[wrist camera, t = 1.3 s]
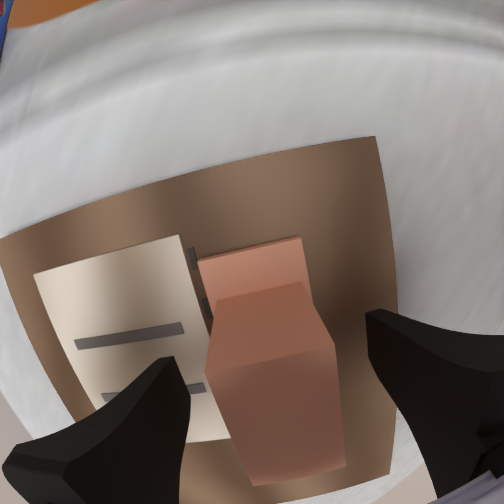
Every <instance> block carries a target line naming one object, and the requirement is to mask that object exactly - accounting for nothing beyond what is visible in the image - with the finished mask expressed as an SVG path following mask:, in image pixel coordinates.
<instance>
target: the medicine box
mask: <svg viewBox="0 0 504 504" xmlns="http://www.w3.org/2000/svg"><path fill="white" fill-rule="evenodd" d="M13 1H14V0H0V55H1V50H2V45H3V40H4V35H5V31H6V27H7V23H8V19H9V15H10V11H11V7H12V4H13Z"/></svg>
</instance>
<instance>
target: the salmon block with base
mask: <svg viewBox="0 0 504 504" xmlns="http://www.w3.org/2000/svg"><path fill="white" fill-rule="evenodd" d="M197 263H198V266H199V270H200V273H201V277H202V280H203V284H204V287H205V291H206V294H207V297H208V301H209V304H210V307H211V311H212V314H213V317H214V320H213V325H212V331H211V337H210V342H209V348H208V354H207V360H206V365H205V371H204V373H205V376H206V378H207V381H208V383H209V386H210V388H211V391H212V394H213V396H214V399H215V401H216V403H217V406H218V408H219V411H220V413H221V416H222V418H223V420H224V423H225V425H226V428H227V430H228V432H229V434H230V437H231V439H232V441H233V444H234V446H235V448H236V450H237V453H238V455H239V457H240V459H241V461H242V464H243V466H244V468H245V470H246V472H247V474H248V476H249V478H250V481H251V483H252V485H253V486H259V485H265V484H272V483H277V482H283V481H288V480H293V479H298V478H303V477H308V476H312V475H316V474H320V473H324V472H328V471H332V470H336V469H339V468H343V467H346V461H345V445H344V431H343V419H342V408H341V397H340V387H339V378H338V369H337V360H336V352H335V344H334V342H333V340H332V338H331V336H330V335H329V333H328V331H327V329H326V327H325V325H324V323H323V321H322V320H321V318H320V316H319V314H318V312H317V310H316V308H315V307H314V305H313V300H312V294H311V289H310V283H309V277H308V272H307V267H306V261H305V256H304V251H303V246H302V240H301V237H300V236H296V237H292V238H287V239H283V240H279V241H274V242H270V243H266V244H261V245H257V246H253V247H248V248H244V249H240V250H235V251H231V252H227V253H223V254H218V255H214V256H210V257H205V258H201V259H199V260H198V262H197Z"/></svg>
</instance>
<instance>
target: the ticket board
mask: <svg viewBox="0 0 504 504" xmlns="http://www.w3.org/2000/svg"><path fill="white" fill-rule="evenodd" d="M296 236H300V237H301V240H302V246H303V251H304V256H305V261H306V267H307V272H308V277H309V283H310V289H311V294H312V300H313V305H314V307H315V308H316V310H317V312H318V314H319V316H320V318H321V320H322V321H323V323H324V325H325V327H326V329H327V331H328V333H329V335H330V336H331V338H332V340H333V342H334V344H335V352H336V360H337V369H338V378H339V387H340V397H341V408H342V419H343V431H344V445H345V461H346V467H343V468H339V469H336V470H332V471H328V472H324V473H320V474H316V475H312V476H308V477H303V478H298V479H293V480H288V481H283V482H277V483H272V484H265V485H259V486H253V485H252V483H251V481H250V478H249V476H248V474H247V472H246V470H245V468H244V466H243V464H242V461H241V459H240V457H239V455H238V453H237V450H236V448H235V446H234V444H233V441H232V439H231V437H230V434H229V432H228V430H227V428H226V425H225V423H224V420H223V418H222V416H221V413H220V411H219V408H218V406H217V403H216V401H215V399H214V396H213V394H212V391H211V388H210V386H209V383H208V381H207V378H206V376H205V373H204V371H205V365H206V360H207V354H208V348H209V342H210V337H211V331H212V325H213V320H214V317H213V314H212V311H211V307H210V304H209V301H208V297H207V294H206V291H205V287H204V284H203V280H202V277H201V273H200V270H199V266H198V263H197V262H198V260H199V259H201V258H205V257H210V256H214V255H218V254H223V253H227V252H231V251H235V250H240V249H244V248H248V247H253V246H257V245H261V244H266V243H270V242H274V241H279V240H283V239H287V238H292V237H296ZM0 265H1V268H2V271H3V274H4V277H5V280H6V283H7V286H8V288H9V291H10V294H11V297H12V299H13V302H14V304H15V307H16V309H17V312H18V314H19V317H20V319H21V322H22V324H23V326H24V328H25V331H26V333H27V335H28V337H29V340H30V342H31V344H32V346H33V348H34V350H35V352H36V354H37V356H38V358H39V360H40V362H41V364H42V366H43V368H44V370H45V372H46V373H47V375H48V377H49V379H50V381H51V383H52V384H53V386H54V388H55V390H56V391H57V393H58V395H59V396H60V398H61V400H62V401H63V403H64V405H65V406H66V408H67V409H68V411H69V413H70V414H71V416H72V417H73V419H74V420H75V422H78V421H80V420H82V419H84V418H85V417H87V416H89V415H90V414H92V413H94V412H95V411H97V410H98V409H100V408H101V407H102V406H104V405H105V404H106V403H108V402H109V401H110V400H112V399H113V398H114V397H115V396H116V395H118V394H119V393H120V392H121V391H122V390H123V389H125V388H126V387H127V386H128V385H129V384H130V383H131V382H132V381H134V380H135V379H136V378H137V377H138V376H139V375H140V374H141V373H142V372H143V371H144V370H145V369H146V368H148V367H149V366H150V365H151V364H152V363H153V362H154V361H156V360H157V359H158V358H162V357H169V356H174V358H175V360H176V362H177V365H178V367H179V370H180V372H181V375H182V377H183V379H184V382H185V384H186V386H187V389H188V391H189V393H190V396H191V413H190V422H189V428H188V433H187V438H186V443H185V448H184V453H183V458H182V463H181V471H180V487H179V504H277V503H283V502H289V501H294V500H299V499H304V498H309V497H313V496H317V495H322V494H326V493H330V492H334V491H337V490H341V489H345V488H348V487H351V486H355V485H358V484H361V483H364V482H367V481H370V480H373V479H376V478H379V477H382V476H385V475H388V474H389V473H390V466H391V459H392V451H393V442H394V432H395V421H396V408H397V406H396V404H395V403H394V401H393V400H392V398H391V397H390V395H389V394H388V392H387V391H386V389H385V388H384V386H383V385H382V383H381V382H380V380H379V379H378V377H377V375H376V373H375V371H374V369H373V367H372V365H371V363H370V360H369V358H368V347H367V332H366V319H365V313H366V312H369V311H372V310H376V309H379V308H381V309H384V310H388V311H391V312H393V313H396V314H398V304H397V286H396V272H395V260H394V250H393V241H392V232H391V224H390V216H389V209H388V202H387V196H386V190H385V184H384V178H383V172H382V167H381V162H380V157H379V152H378V147H377V142H376V138H375V136H369V137H362V138H355V139H349V140H342V141H336V142H330V143H324V144H318V145H312V146H307V147H301V148H296V149H291V150H286V151H281V152H276V153H271V154H266V155H262V156H257V157H253V158H248V159H244V160H239V161H235V162H231V163H227V164H223V165H218V166H214V167H210V168H207V169H203V170H199V171H195V172H191V173H188V174H184V175H180V176H177V177H173V178H170V179H166V180H163V181H159V182H156V183H152V184H149V185H146V186H142V187H139V188H136V189H133V190H129V191H126V192H123V193H120V194H117V195H114V196H111V197H108V198H105V199H102V200H99V201H96V202H93V203H90V204H88V205H85V206H82V207H79V208H76V209H74V210H71V211H68V212H65V213H63V214H60V215H58V216H55V217H52V218H50V219H47V220H45V221H42V222H40V223H37V224H35V225H32V226H30V227H27V228H25V229H22V230H20V231H18V232H15V233H13V234H11V235H8V236H6V237H4V238H1V239H0Z"/></svg>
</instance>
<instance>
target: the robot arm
mask: <svg viewBox="0 0 504 504" xmlns="http://www.w3.org/2000/svg"><path fill="white" fill-rule="evenodd" d="M365 319H366V332H367V347H368V358H369V360H370V363H371V365H372V367H373V369H374V371H375V373H376V375H377V377H378V379H379V380H380V382H381V383H382V385H383V386H384V388H385V389H386V391H387V392H388V394H389V395H390V397H391V398H392V400H393V401H394V403H395V404H396V406H397V407H398V409H399V410H400V412H401V413H402V415H403V416H404V418H405V420H406V422H407V423H408V425H409V427H410V429H411V431H412V434H413V436H414V438H415V440H416V442H417V444H418V447H419V449H420V451H421V454H422V456H423V459H424V461H425V463H426V466H427V469H428V471H429V474H430V477H431V480H432V482H433V486H434V489H435V492H436V495H437V498H438V499H437V500H435V501H432V502H431V503H428V504H504V335H479V334H469V333H462V332H457V331H451V330H446V329H442V328H439V327H435V326H431V325H428V324H425V323H422V322H419V321H416V320H413V319H410V318H407V317H404V316H402V315H399V314H396V313H393V312H391V311H388V310H384V309H381V308H379V309H376V310H372V311H369V312H366V313H365ZM190 413H191V396H190V393H189V391H188V389H187V386H186V384H185V382H184V379H183V377H182V375H181V372H180V370H179V367H178V365H177V362H176V360H175V358H174V356H169V357H162V358H158V359H157V360H156V361H154V362H153V363H152V364H151V365H150V366H149V367H148V368H146V369H145V370H144V371H143V372H142V373H141V374H140V375H139V376H138V377H137V378H136V379H135V380H134V381H132V382H131V383H130V384H129V385H128V386H127V387H126V388H125V389H123V390H122V391H121V392H120V393H119V394H118V395H116V396H115V397H114V398H113V399H112V400H110V401H109V402H108V403H106V404H105V405H104V406H102V407H101V408H100V409H98V410H97V411H95V412H94V413H92V414H90V415H89V416H87V417H85V418H84V419H82V420H80V421H78V422H76V423H74V424H73V425H71V426H69V427H67V428H65V429H62V430H60V431H58V432H56V433H53V434H50V435H48V436H45V437H42V438H39V439H36V440H32V441H28V442H25V443H21V444H17V445H16V446H15V447H14V448H13V450H12V452H11V453H10V454H9V456H8V457H7V459H6V460H5V462H4V464H3V465H2V470H3V473H4V476H5V478H6V479H7V481H8V482H9V483H10V484H11V485H12V487H13V488H14V489H15V490H16V491H17V492H18V493H19V494H20V495H22V497H23V498H24V499H25V500H26V501H27V502H28V503H29V504H179V487H180V471H181V463H182V458H183V453H184V448H185V443H186V438H187V433H188V428H189V422H190Z"/></svg>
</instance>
